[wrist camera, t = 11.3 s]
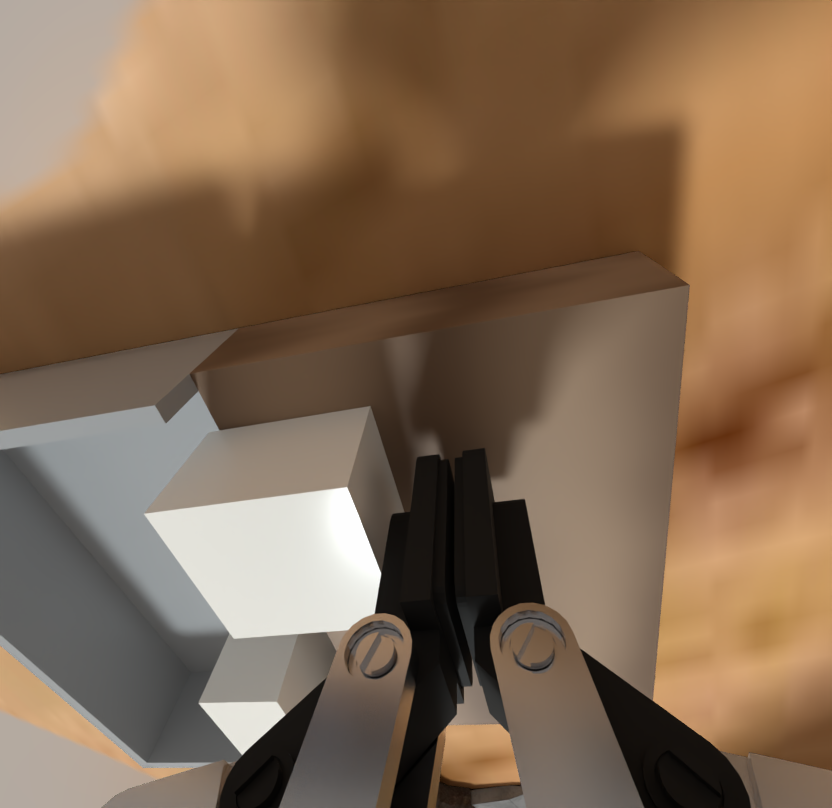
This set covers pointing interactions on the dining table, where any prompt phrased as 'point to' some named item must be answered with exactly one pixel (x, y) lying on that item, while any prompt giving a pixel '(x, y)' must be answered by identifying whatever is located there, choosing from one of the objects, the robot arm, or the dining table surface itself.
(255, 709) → the tile
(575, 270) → the board
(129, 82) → the dining table surface
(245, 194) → the dining table surface
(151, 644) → the tray
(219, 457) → the white rectangular block
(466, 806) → the cleaver
